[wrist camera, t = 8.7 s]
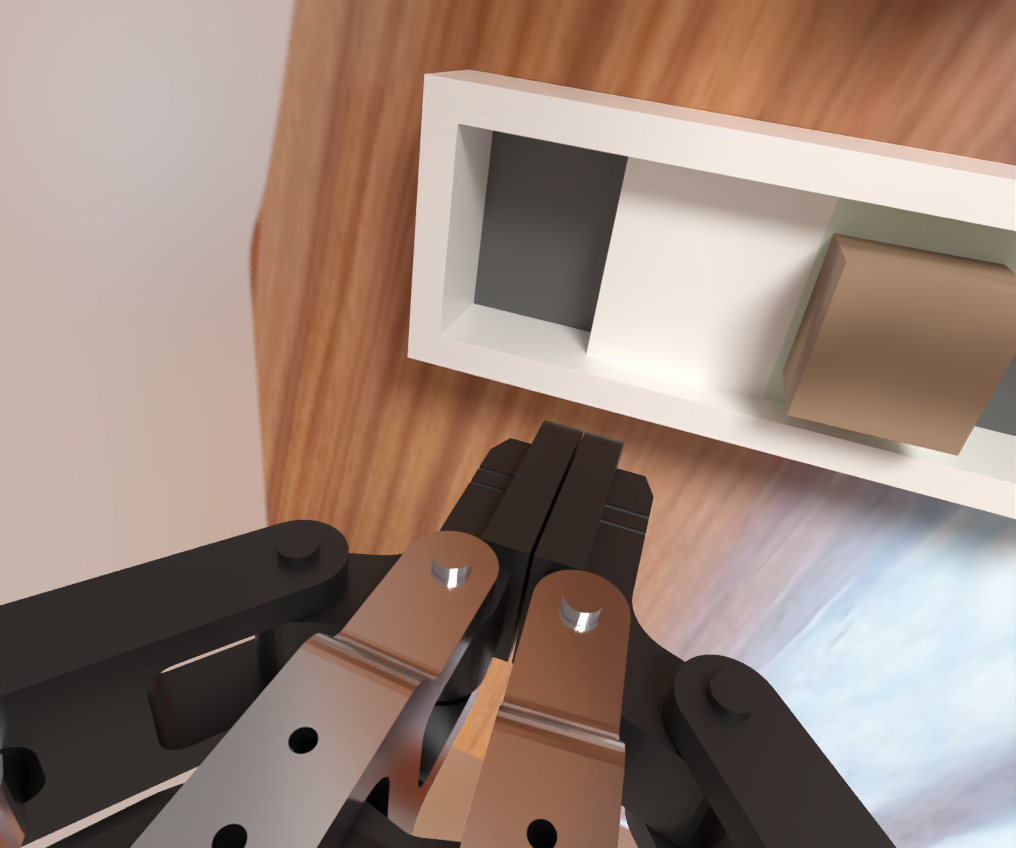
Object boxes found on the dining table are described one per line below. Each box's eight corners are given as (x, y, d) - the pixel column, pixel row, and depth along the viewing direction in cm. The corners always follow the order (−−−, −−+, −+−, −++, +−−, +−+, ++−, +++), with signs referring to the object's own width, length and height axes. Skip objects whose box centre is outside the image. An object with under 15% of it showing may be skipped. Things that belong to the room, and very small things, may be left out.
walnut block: (833, 233, 26) (846, 261, 23) (1005, 265, 25) (1045, 299, 21) (782, 372, 29) (787, 415, 26) (932, 406, 28) (957, 456, 24)
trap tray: (469, 69, 30) (424, 73, 26) (1320, 219, 24) (1441, 257, 20) (446, 320, 36) (407, 357, 32) (1116, 489, 30) (1175, 561, 26)
